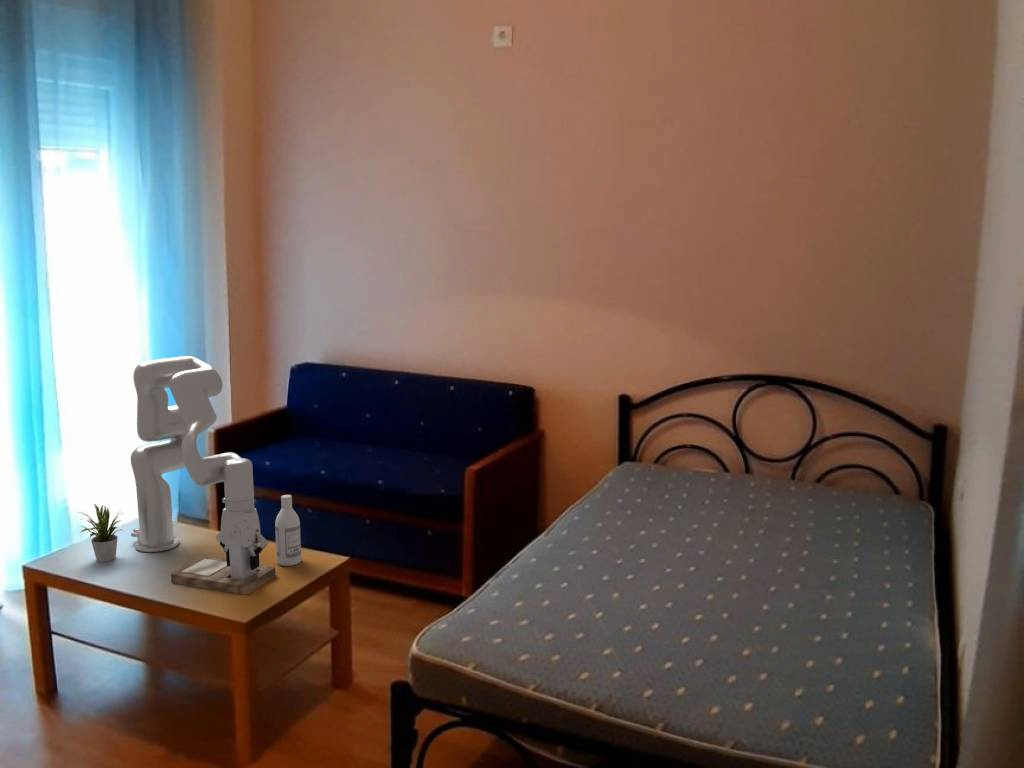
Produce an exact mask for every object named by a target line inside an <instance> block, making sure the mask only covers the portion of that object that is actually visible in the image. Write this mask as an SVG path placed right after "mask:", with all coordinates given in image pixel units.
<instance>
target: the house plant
mask: <svg viewBox="0 0 1024 768" xmlns="http://www.w3.org/2000/svg"><path fill="white" fill-rule="evenodd" d="M93 506H94V509H95V512H96V516H97V522H95V521H94V520H93V519H92V518H91V517H90V516H89V515H88V514H86V513H83V512H81V511H77V513H79V514H80V515H82V516H83V515H84V516H85V517H88V518H87V522H88V523H89V524H91V525H92V526H93V527H90V528H88V527H86V526H83V525H82V526H80V527H81V528H84V529H82V530H81V531H79V532H80V533H83V532H85V531H88V532H86V533H87V534H88V533H90V535H89V538H90V539H91V540H90V541H91V545H92V548H93V552H94V555H95V560H96V561H97V562H98V561H100V562H99V563H105V562H104V561H107V562H111V561H113V559H114V560H115V559H116V558H117V548H118V539H119V537H118V535H117V534H116V533H117V532H118V531H123V529H117V528H118V527H117V526H115V525H117V523H119V522H123V520H122V519H121V520H117V519H118V518H119V516H120V515H122V514H124V512H122V513H117V514H116V515H115V517H114V518H113V520H112V522H111V524H110V526H109V523H110V517H111V516H110V514H111V513H110V509H109V507H107V506H105V505H104V504H102V505H101V507H100V508H99V506H98V505H97V504H95V503H93ZM103 507H104V508H103ZM120 511H122V509H120ZM79 520H80V521H81V520H83V518H80V519H79ZM116 529H117V530H116ZM80 533H79V534H80ZM93 536H95V537H93ZM91 537H93V538H91ZM110 560H111V561H110Z"/></svg>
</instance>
